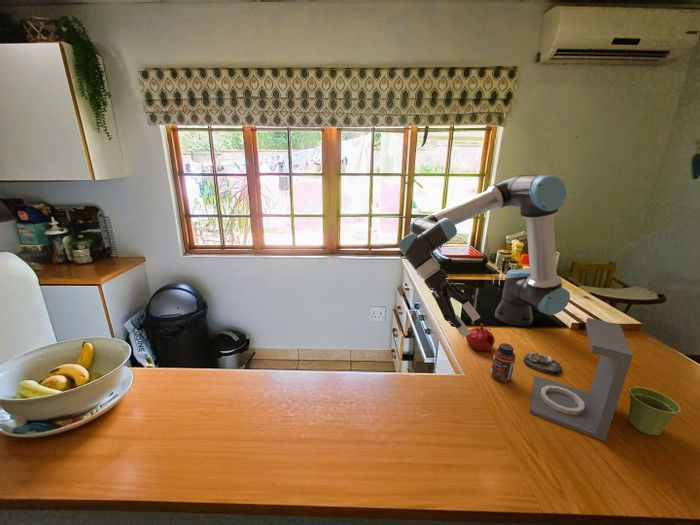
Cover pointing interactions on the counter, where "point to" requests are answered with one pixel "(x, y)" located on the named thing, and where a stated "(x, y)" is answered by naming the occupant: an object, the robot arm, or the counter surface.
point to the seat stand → (599, 405)
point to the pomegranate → (480, 339)
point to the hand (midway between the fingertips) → (472, 326)
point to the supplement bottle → (503, 363)
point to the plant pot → (650, 410)
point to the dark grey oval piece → (542, 363)
